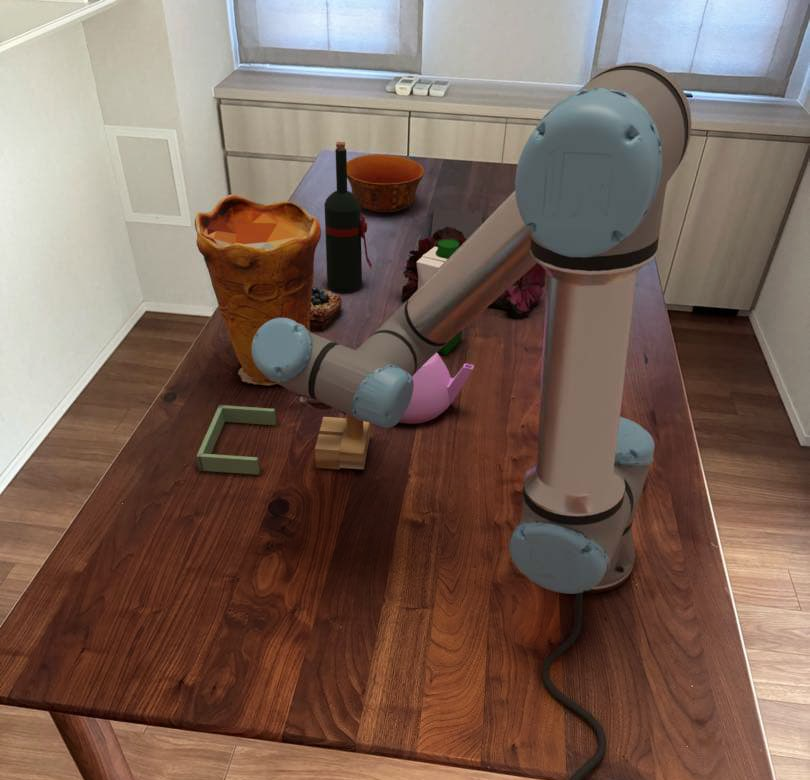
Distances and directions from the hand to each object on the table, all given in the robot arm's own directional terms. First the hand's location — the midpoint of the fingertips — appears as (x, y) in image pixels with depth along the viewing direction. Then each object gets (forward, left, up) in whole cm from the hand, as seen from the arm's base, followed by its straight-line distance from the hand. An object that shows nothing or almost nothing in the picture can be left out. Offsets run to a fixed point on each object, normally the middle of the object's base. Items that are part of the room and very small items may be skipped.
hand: (363, 413), depth 132 cm
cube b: (-1, +5, -6) cm, 8 cm away
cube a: (-6, +5, -6) cm, 10 cm away
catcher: (-4, +21, -6) cm, 22 cm away
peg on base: (-4, +1, -5) cm, 6 cm away
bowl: (+104, +7, -6) cm, 105 cm away
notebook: (+90, -13, -6) cm, 91 cm away
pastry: (+42, +16, -6) cm, 45 cm away
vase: (+19, +20, -6) cm, 28 cm away
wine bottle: (+57, +10, -6) cm, 58 cm away
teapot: (+12, -7, -6) cm, 15 cm away
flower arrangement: (+56, -18, -6) cm, 59 cm away
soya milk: (+34, -11, -6) cm, 36 cm away
